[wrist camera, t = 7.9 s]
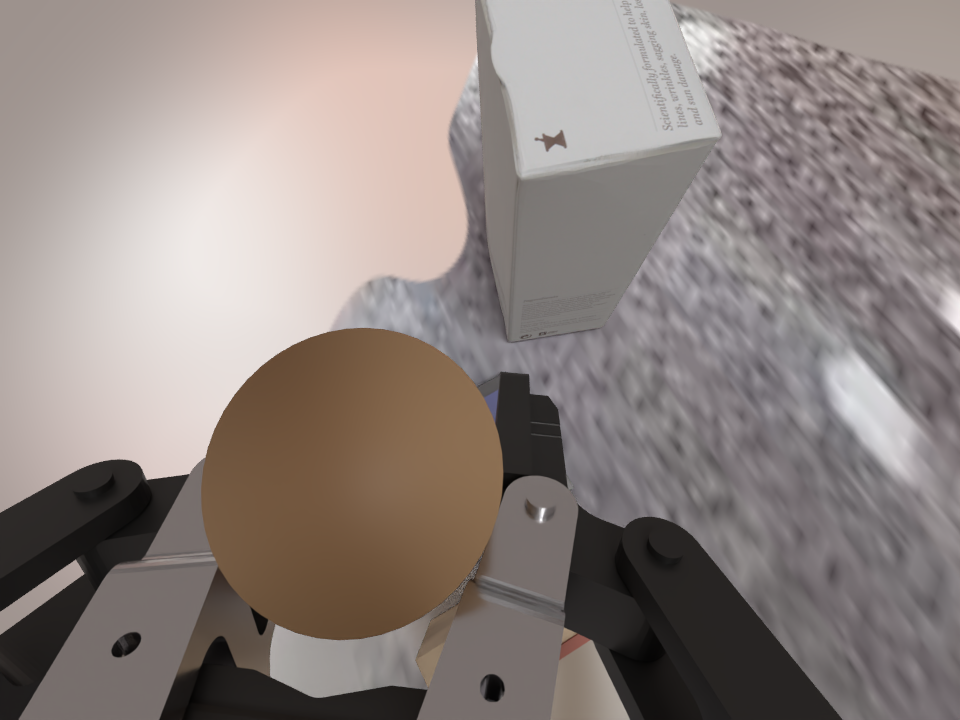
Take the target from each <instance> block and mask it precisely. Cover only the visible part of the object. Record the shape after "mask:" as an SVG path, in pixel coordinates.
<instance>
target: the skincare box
mask: <svg viewBox="0 0 960 720" xmlns="http://www.w3.org/2000/svg"><path fill="white" fill-rule="evenodd" d="M475 5H476V6H475V7H476V32H477V52H478V71H479V91H480V108H481V128H482V150H483V170H484V192H485V214H486V235H487V243H488V249H489V255H490V260H491V265H492V270H493V274H494V279H495V283H496V288H497V292H498V297H499V302H500V306H501V310H502V313H503V317H504V321H505V327H506V334H507V340H508V342H515V341H521V340H528V339H534V338H540V337H546V336H552V335H558V334H565V333H571V332H578V331H584V330H589V329H596V328H600V327H603V326H604V325H605V324H606V322H607V320H608V319H609V317H610V316H611V314H612V313H613V311H614V309H615V307H616V306H617V304H618V303H619V301H620V299H621V298H622V296H623V294H624V293H625V291H626V289H627V288H628V286H629V285H630V283H631V281H632V280H633V278H634V277H635V275H636V273H637V272H638V270H639V268H640V267H641V265H642V263H643V262H644V260H645V258H646V257H647V255H648V253H649V252H650V250H651V249H652V247H653V245H654V243H655V242H656V240H657V239H658V237H659V235H660V234H661V232H662V230H663V229H664V227H665V226H666V224H667V222H668V220H669V219H670V217H671V215H672V214H673V212H674V210H675V209H676V207H677V206H678V204H679V202H680V201H681V199H682V197H683V196H684V194H685V193H686V191H687V189H688V188H689V186H690V184H691V183H692V181H693V179H694V178H695V176H696V175H697V173H698V171H699V170H700V168H701V166H702V165H703V163H704V162H705V160H706V158H707V157H708V155H709V153H710V152H711V150H712V149H713V147H714V145H715V144H716V142H717V141H718V140H719V139H720V138H721V135H722V134H721V131H720V128H719V125H718V123H717V120H716V117H715V115H714V112H713V110H712V107H711V105H710V102H709V100H708V97H707V95H706V92H705V90H704V87H703V85H702V83H701V80H700V78H699V75H698V73H697V70H696V67H695V65H694V62H693V60H692V57H691V55H690V52H689V50H688V47H687V45H686V42H685V39H684V37H683V34H682V32H681V29H680V26H679V24H678V21H677V19H676V16H675V14H674V11H673V9H672V6H671V4H670V1H669V0H475Z"/></svg>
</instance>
